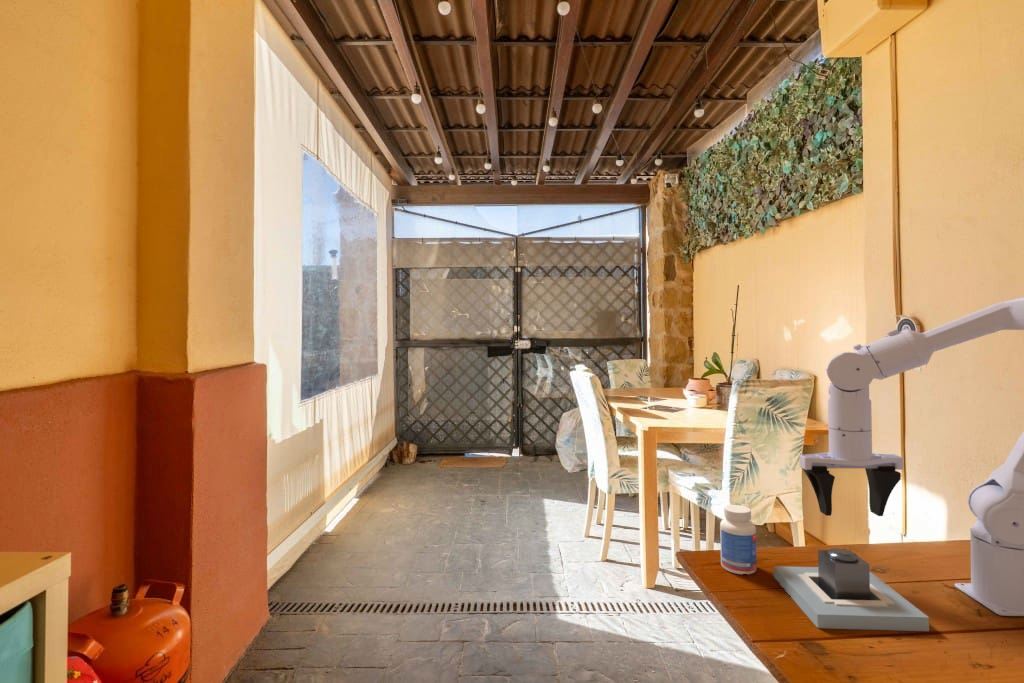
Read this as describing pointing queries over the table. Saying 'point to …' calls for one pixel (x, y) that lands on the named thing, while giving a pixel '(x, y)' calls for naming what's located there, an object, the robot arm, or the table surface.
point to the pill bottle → (738, 540)
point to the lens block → (843, 575)
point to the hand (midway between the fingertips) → (851, 513)
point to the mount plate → (850, 604)
